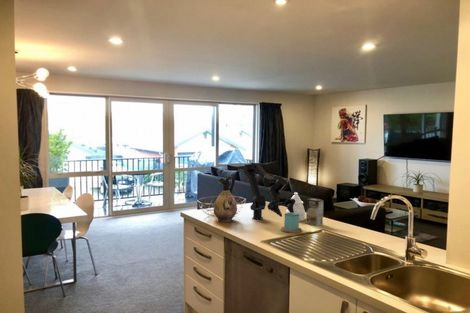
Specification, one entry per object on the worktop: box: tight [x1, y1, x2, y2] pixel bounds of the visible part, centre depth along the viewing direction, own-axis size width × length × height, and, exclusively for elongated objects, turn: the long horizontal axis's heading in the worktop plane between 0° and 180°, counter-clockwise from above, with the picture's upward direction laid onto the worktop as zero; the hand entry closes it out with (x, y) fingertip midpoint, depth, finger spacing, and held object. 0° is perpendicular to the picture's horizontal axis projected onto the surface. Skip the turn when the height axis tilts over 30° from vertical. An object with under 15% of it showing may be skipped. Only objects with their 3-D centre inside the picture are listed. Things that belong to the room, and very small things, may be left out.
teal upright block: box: [283, 212, 300, 231], centre depth 206 cm, size 6×6×9 cm
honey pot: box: [285, 192, 306, 222], centre depth 237 cm, size 13×13×18 cm
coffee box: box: [305, 197, 324, 227], centre depth 222 cm, size 9×6×16 cm
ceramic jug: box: [213, 175, 238, 223], centre depth 229 cm, size 17×15×30 cm
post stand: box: [281, 226, 303, 234], centre depth 206 cm, size 12×12×4 cm
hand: (287, 215), depth 209 cm, fingers open, 9 cm apart
